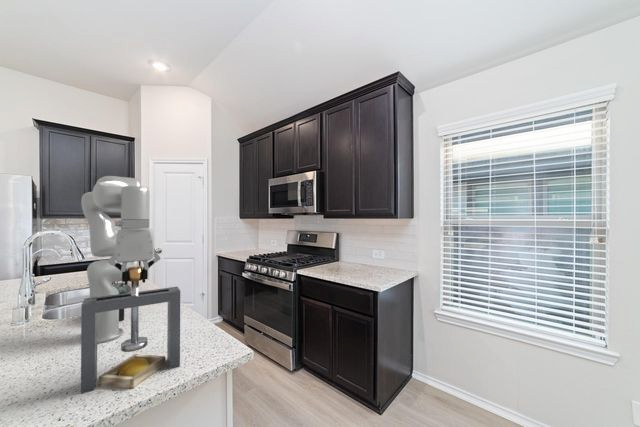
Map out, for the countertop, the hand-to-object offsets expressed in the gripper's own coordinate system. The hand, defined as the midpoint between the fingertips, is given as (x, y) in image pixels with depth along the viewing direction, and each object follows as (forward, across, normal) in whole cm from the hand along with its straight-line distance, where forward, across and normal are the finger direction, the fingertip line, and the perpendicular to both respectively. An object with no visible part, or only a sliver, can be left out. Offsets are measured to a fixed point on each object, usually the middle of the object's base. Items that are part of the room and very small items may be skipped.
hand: (135, 282), depth 87 cm
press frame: (+29, 0, 0) cm, 29 cm away
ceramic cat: (+29, -8, +63) cm, 70 cm away
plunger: (+20, 0, 0) cm, 20 cm away
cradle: (+29, 0, 0) cm, 29 cm away
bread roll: (+29, 0, 0) cm, 29 cm away
